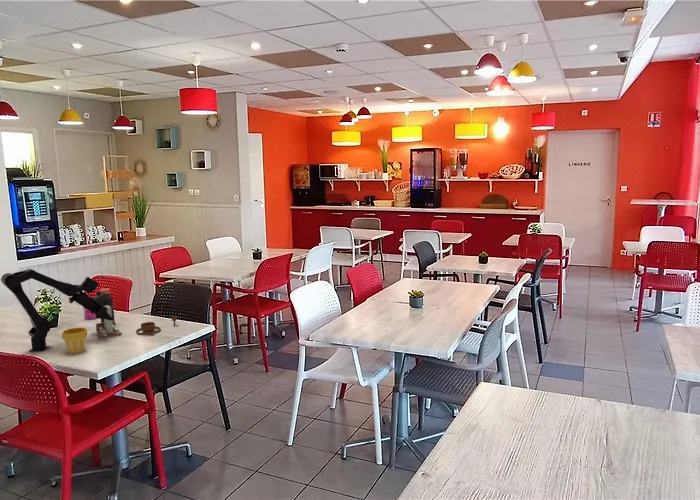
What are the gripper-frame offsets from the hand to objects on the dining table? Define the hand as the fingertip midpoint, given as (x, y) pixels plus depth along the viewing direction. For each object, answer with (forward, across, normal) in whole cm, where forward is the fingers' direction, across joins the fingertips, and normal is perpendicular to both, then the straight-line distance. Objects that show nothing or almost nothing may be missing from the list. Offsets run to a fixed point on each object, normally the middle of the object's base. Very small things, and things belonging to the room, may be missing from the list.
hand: (110, 318), depth 265 cm
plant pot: (-8, -16, +20) cm, 27 cm away
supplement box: (+5, +39, +7) cm, 40 cm away
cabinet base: (+5, 0, +7) cm, 8 cm away
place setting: (+20, -10, -7) cm, 24 cm away
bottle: (+8, +18, +4) cm, 20 cm away
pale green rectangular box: (+4, 0, +6) cm, 7 cm away
